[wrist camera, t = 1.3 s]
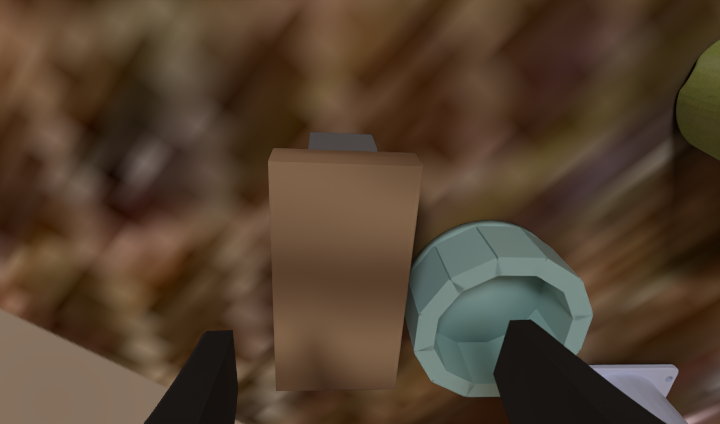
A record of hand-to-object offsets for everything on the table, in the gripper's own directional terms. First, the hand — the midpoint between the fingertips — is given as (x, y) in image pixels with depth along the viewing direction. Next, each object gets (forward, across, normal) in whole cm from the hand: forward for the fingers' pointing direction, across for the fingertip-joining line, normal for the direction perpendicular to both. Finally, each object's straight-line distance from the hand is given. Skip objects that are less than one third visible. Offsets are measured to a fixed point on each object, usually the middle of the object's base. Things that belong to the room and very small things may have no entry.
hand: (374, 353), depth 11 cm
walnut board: (+7, 0, +3) cm, 8 cm away
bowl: (+11, -9, +7) cm, 16 cm away
